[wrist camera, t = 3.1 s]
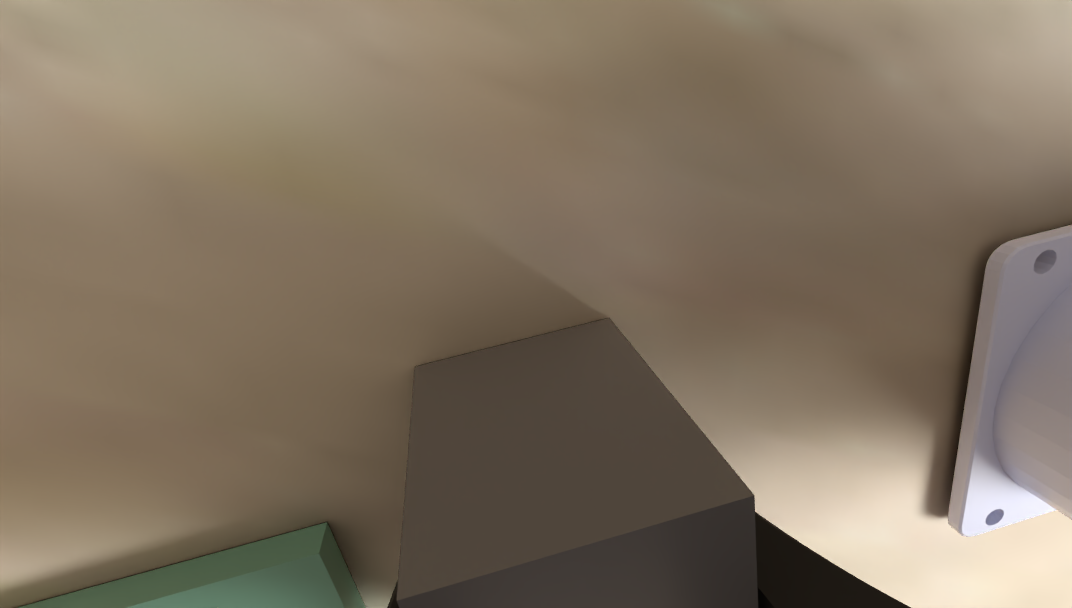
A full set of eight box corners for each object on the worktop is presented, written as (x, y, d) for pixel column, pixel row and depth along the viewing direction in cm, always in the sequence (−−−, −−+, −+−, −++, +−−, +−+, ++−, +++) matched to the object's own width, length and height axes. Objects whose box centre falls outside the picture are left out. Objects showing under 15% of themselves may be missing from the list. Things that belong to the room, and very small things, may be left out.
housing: (608, 317, 10) (754, 495, 6) (645, 568, 13) (765, 832, 8) (414, 366, 10) (396, 600, 5) (493, 615, 12) (527, 917, 8)
